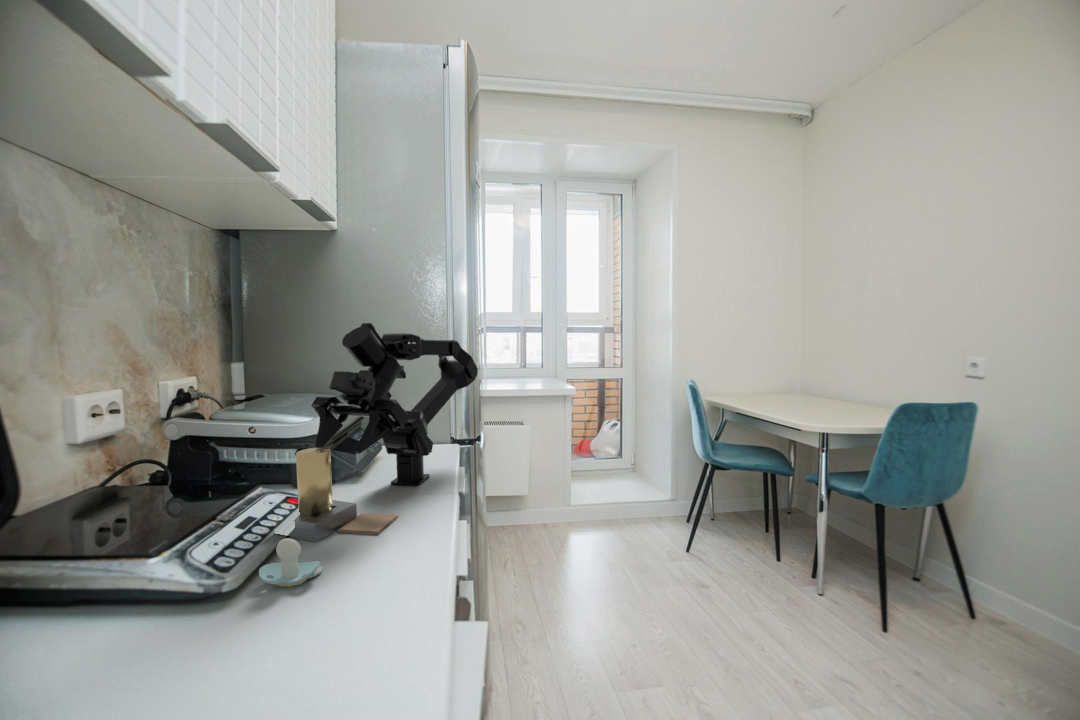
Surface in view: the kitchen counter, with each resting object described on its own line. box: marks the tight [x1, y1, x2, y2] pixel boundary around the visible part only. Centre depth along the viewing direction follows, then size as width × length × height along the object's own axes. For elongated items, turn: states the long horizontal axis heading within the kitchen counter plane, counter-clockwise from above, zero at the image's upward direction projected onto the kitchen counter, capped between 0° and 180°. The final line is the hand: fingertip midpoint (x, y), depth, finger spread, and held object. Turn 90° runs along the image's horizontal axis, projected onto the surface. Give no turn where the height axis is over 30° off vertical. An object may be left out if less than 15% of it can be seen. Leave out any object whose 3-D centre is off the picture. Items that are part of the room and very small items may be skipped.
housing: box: [289, 499, 358, 543], centre depth 79 cm, size 9×9×3 cm
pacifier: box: [258, 537, 323, 587], centre depth 62 cm, size 7×6×6 cm
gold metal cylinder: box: [295, 447, 334, 517], centre depth 78 cm, size 5×5×13 cm
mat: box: [338, 512, 399, 536], centre depth 79 cm, size 7×7×1 cm
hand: (336, 450), depth 83 cm, fingers open, 9 cm apart
